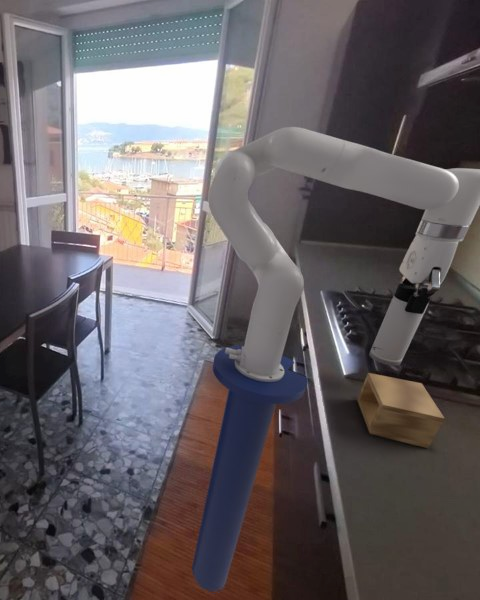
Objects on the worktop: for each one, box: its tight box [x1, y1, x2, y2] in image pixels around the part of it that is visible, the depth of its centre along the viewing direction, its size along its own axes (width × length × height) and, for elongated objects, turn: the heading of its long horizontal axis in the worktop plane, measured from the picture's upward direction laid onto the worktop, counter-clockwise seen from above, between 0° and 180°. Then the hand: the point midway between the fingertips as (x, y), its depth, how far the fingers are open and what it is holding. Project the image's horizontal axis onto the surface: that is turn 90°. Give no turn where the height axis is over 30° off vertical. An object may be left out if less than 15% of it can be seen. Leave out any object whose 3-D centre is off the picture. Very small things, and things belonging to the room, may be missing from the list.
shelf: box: [356, 372, 445, 449], centre depth 79 cm, size 10×12×8 cm
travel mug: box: [368, 283, 431, 367], centre depth 85 cm, size 6×7×20 cm
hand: (407, 305), depth 83 cm, fingers closed on travel mug, 6 cm apart
